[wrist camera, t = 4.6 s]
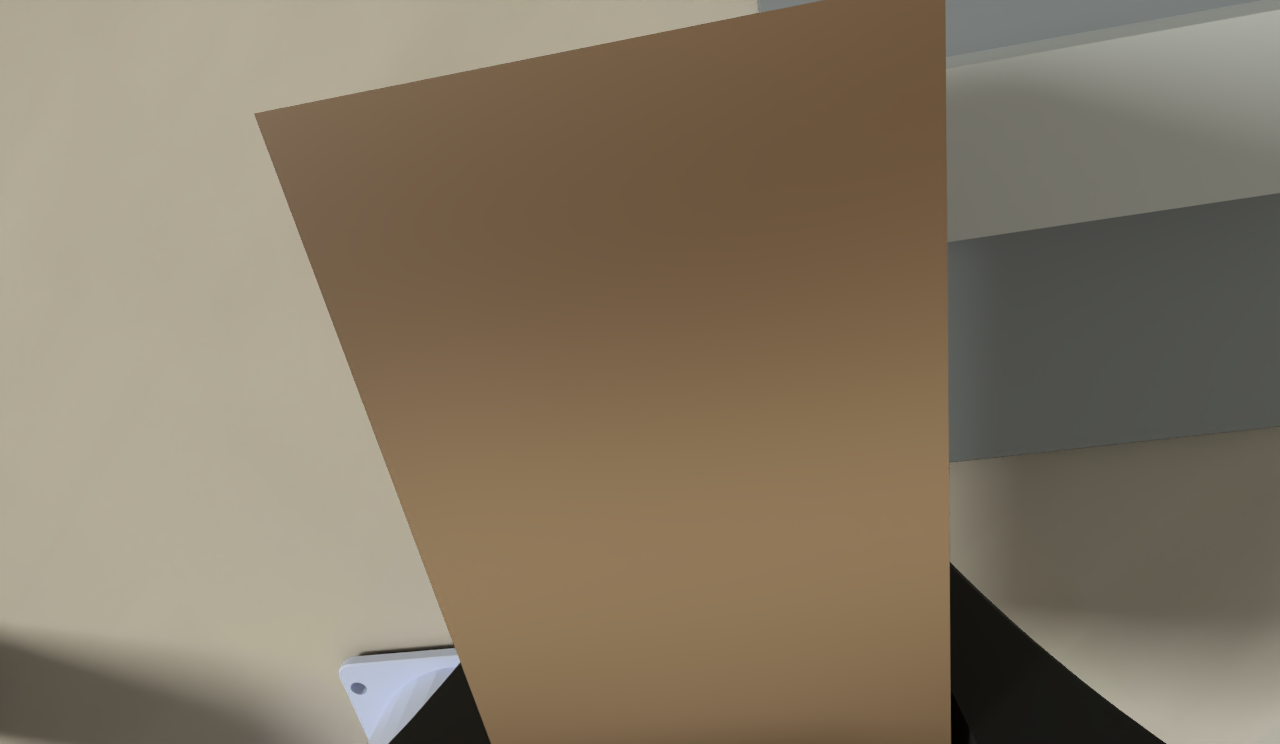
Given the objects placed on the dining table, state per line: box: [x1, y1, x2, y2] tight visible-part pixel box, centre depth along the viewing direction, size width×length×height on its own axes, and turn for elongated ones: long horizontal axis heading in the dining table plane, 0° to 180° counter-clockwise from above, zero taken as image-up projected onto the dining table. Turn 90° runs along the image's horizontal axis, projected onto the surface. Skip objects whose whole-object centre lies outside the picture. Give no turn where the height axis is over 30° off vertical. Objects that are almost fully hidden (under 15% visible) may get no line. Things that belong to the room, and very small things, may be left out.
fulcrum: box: [758, 0, 1280, 463], centre depth 14 cm, size 16×12×3 cm
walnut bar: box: [254, 0, 951, 744], centre depth 9 cm, size 14×4×6 cm, turn 10°
